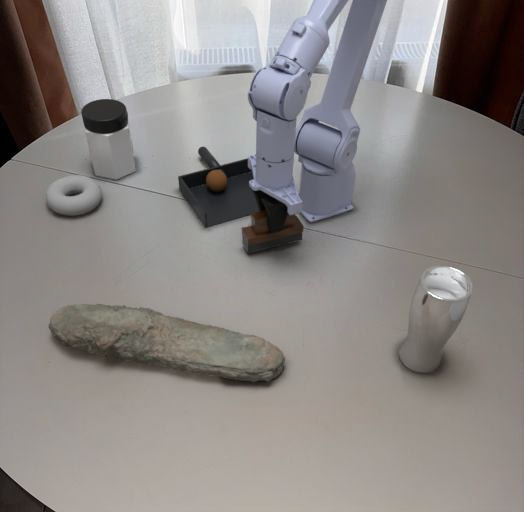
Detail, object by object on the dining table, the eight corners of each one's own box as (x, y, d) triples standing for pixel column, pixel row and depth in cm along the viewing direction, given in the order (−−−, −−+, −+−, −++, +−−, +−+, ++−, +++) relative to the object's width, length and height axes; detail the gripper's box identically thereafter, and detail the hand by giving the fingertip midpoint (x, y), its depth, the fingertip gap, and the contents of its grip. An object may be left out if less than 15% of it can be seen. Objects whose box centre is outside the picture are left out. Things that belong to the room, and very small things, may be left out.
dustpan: (288, 203, 108) (289, 189, 106) (205, 227, 103) (204, 213, 101) (238, 147, 120) (238, 133, 118) (162, 166, 115) (160, 152, 113)
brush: (295, 229, 102) (297, 199, 97) (302, 240, 100) (304, 210, 95) (241, 242, 99) (241, 213, 95) (248, 254, 98) (247, 224, 93)
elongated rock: (275, 405, 80) (287, 354, 87) (279, 381, 77) (292, 329, 83) (37, 351, 83) (67, 306, 90) (29, 326, 79) (61, 280, 86)
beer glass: (446, 346, 86) (477, 271, 75) (440, 381, 82) (471, 307, 71) (400, 334, 88) (423, 258, 76) (391, 368, 84) (414, 293, 72)
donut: (39, 215, 105) (91, 222, 103) (33, 199, 102) (86, 206, 101) (62, 184, 111) (111, 190, 110) (57, 168, 108) (108, 174, 107)
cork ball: (232, 190, 109) (226, 179, 112) (225, 173, 106) (219, 162, 108) (213, 199, 109) (207, 187, 112) (205, 182, 106) (200, 171, 108)
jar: (137, 178, 112) (128, 119, 103) (95, 182, 111) (81, 123, 102) (134, 153, 118) (124, 95, 109) (93, 157, 117) (80, 99, 108)
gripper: (230, 135, 90) (231, 208, 100) (274, 184, 81) (270, 258, 92) (270, 125, 92) (268, 197, 102) (317, 172, 84) (309, 245, 94)
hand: (271, 225), depth 97 cm, fingers closed on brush, 2 cm apart
